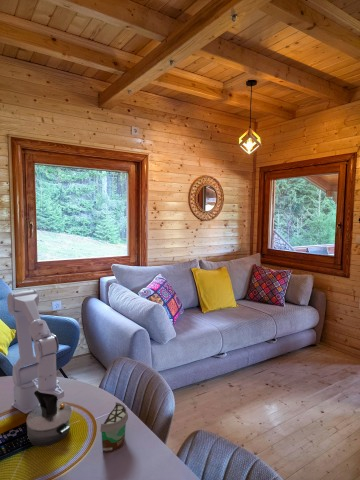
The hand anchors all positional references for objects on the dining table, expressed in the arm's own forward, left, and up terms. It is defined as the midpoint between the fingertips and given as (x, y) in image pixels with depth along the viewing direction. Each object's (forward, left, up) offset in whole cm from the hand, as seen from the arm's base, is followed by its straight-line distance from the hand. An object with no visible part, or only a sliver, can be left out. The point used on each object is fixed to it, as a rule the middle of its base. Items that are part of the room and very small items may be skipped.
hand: (48, 411), depth 106 cm
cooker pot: (0, 0, -7) cm, 7 cm away
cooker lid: (0, 0, -2) cm, 2 cm away
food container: (+23, +9, -7) cm, 26 cm away
